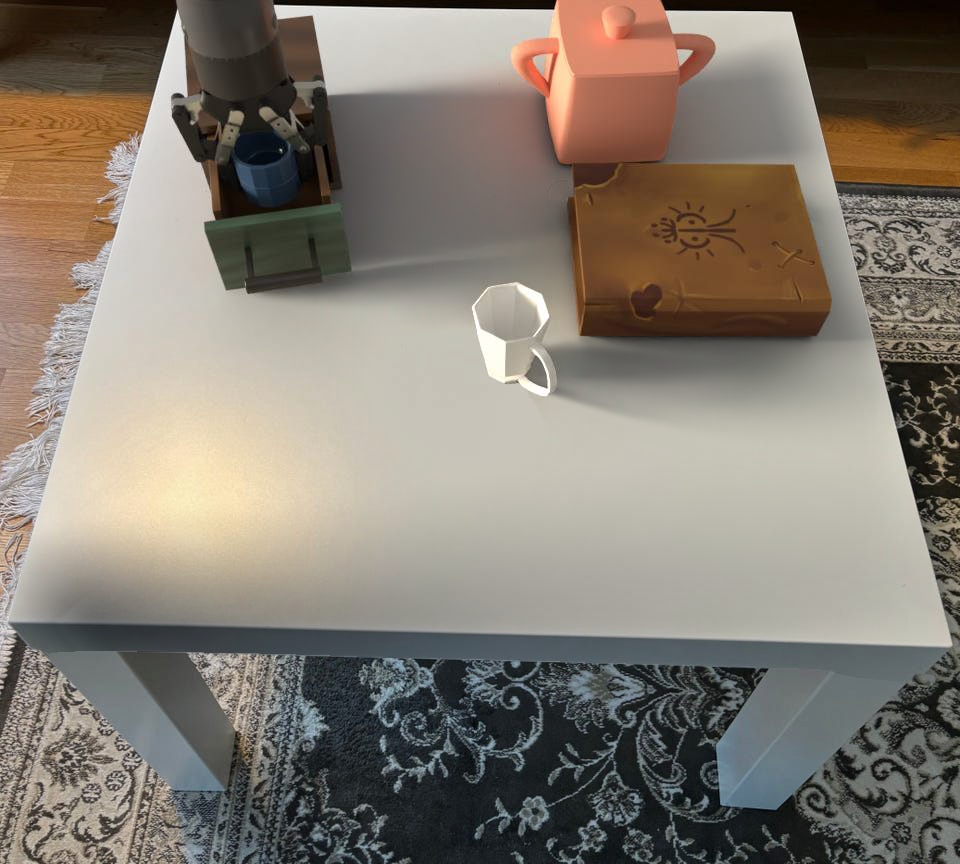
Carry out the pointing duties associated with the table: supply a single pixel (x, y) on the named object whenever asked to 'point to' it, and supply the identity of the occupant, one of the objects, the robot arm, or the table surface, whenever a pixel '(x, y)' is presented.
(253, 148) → the blue faceted tumbler
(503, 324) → the cup
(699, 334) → the diary
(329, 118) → the cabinet
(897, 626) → the table surface
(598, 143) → the pink lidded sugar bowl
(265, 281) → the drawer
